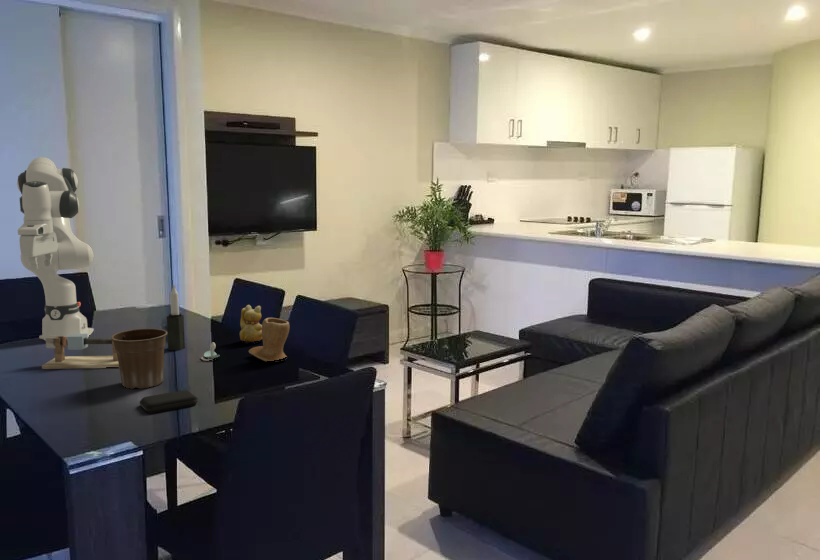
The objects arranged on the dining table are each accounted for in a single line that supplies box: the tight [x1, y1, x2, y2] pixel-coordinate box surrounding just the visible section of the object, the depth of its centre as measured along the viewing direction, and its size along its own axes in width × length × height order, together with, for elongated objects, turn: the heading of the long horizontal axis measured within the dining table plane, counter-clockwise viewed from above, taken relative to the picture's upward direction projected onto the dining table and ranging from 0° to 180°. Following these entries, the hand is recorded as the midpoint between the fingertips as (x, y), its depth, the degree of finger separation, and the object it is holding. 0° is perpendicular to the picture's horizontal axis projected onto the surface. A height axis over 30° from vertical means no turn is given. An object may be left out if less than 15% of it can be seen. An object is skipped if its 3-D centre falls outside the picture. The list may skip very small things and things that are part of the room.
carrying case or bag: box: [139, 389, 199, 414], centre depth 189 cm, size 11×3×15 cm
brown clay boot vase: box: [248, 317, 291, 362], centre depth 239 cm, size 15×12×15 cm
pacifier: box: [200, 341, 220, 362], centre depth 238 cm, size 7×6×6 cm
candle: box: [166, 283, 186, 351], centre depth 251 cm, size 5×5×25 cm
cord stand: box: [41, 336, 119, 370], centre depth 231 cm, size 12×26×10 cm, turn 95°
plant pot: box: [111, 328, 168, 390], centre depth 208 cm, size 16×16×16 cm
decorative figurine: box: [239, 304, 263, 342], centre depth 262 cm, size 10×8×15 cm
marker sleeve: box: [67, 334, 89, 351], centre depth 230 cm, size 5×5×5 cm
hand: (41, 267), depth 233 cm, fingers open, 8 cm apart
